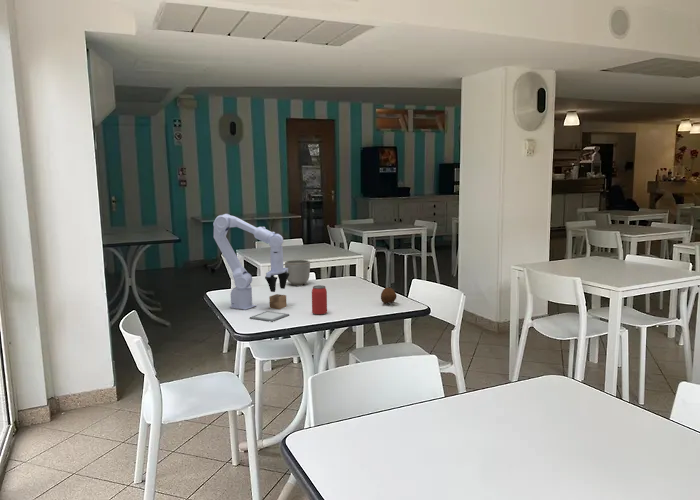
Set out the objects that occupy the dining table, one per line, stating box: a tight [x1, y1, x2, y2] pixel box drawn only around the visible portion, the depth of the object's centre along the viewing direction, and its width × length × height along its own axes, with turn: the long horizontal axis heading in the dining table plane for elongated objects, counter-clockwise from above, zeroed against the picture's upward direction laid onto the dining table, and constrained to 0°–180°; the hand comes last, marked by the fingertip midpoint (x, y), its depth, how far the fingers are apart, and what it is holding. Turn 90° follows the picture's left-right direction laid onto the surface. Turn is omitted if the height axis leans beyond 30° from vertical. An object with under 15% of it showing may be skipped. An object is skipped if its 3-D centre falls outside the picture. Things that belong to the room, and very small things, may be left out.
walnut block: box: [269, 293, 288, 310], centre depth 253 cm, size 6×6×6 cm
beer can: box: [311, 284, 328, 316], centre depth 241 cm, size 7×7×12 cm
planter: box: [284, 259, 311, 286], centre depth 304 cm, size 14×14×13 cm
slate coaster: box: [249, 310, 290, 323], centre depth 236 cm, size 12×12×1 cm
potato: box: [380, 287, 397, 305], centre depth 257 cm, size 7×10×8 cm
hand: (277, 290), depth 252 cm, fingers open, 7 cm apart
